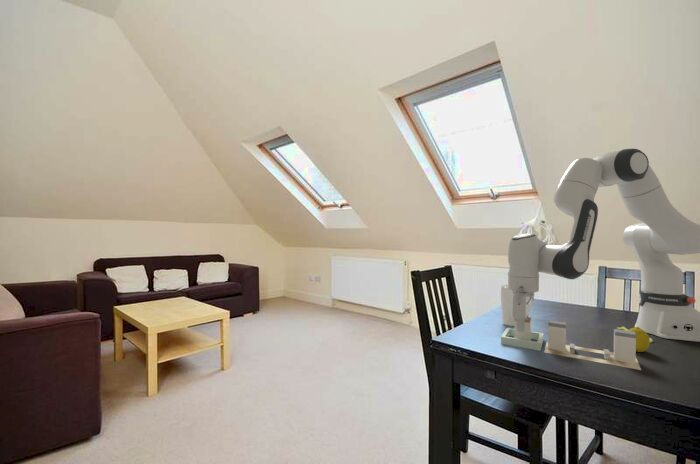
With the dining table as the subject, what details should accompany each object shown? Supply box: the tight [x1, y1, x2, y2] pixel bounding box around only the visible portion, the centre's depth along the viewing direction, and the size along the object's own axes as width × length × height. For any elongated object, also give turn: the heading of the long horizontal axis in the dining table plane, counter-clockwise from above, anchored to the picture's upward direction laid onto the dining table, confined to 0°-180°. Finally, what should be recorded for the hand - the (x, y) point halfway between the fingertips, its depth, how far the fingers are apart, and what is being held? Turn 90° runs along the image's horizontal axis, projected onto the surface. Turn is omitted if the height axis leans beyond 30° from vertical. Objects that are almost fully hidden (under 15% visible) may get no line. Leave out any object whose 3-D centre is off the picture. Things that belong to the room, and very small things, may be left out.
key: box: [616, 326, 654, 344], centre depth 116 cm, size 7×12×2 cm, turn 5°
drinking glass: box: [500, 284, 514, 327], centre depth 129 cm, size 7×7×15 cm
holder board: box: [543, 341, 642, 371], centre depth 99 cm, size 22×11×1 cm, turn 56°
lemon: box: [628, 327, 651, 353], centre depth 101 cm, size 6×6×8 cm
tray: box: [500, 327, 545, 351], centre depth 110 cm, size 11×11×3 cm
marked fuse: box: [513, 316, 532, 341], centre depth 109 cm, size 4×3×8 cm, turn 56°
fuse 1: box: [547, 319, 567, 352], centre depth 103 cm, size 4×3×8 cm, turn 56°
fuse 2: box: [613, 328, 637, 364], centre depth 94 cm, size 4×3×8 cm, turn 56°
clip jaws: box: [569, 342, 611, 360], centre depth 99 cm, size 9×4×2 cm, turn 56°
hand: (522, 327), depth 109 cm, fingers open, 8 cm apart
